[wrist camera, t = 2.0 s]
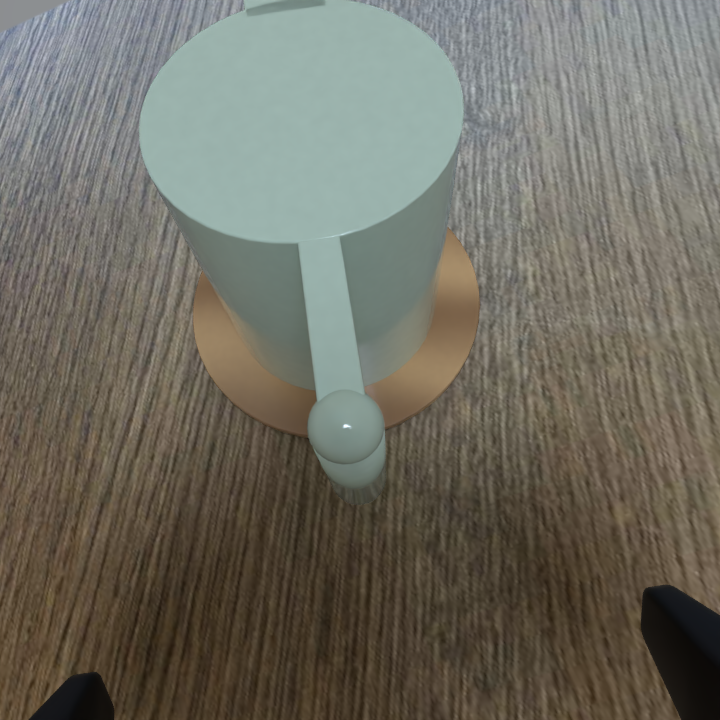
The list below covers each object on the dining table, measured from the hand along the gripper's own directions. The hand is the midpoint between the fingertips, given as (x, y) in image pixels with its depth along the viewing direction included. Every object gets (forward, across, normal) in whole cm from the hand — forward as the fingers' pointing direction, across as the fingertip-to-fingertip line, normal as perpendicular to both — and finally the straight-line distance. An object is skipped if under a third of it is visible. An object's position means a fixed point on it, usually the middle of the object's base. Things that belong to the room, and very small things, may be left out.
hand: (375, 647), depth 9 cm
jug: (+15, 0, 0) cm, 15 cm away
